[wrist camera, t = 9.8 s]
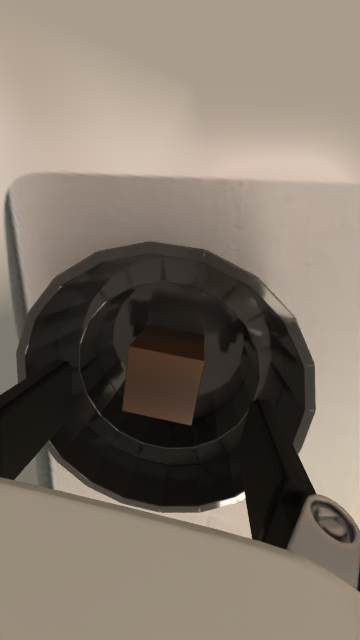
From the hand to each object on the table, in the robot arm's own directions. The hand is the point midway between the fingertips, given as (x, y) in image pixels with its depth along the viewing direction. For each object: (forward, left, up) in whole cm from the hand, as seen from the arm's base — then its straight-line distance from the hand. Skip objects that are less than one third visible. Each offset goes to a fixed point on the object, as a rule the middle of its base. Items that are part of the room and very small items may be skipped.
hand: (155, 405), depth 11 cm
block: (0, 0, -6) cm, 6 cm away
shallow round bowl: (0, 0, -6) cm, 6 cm away
